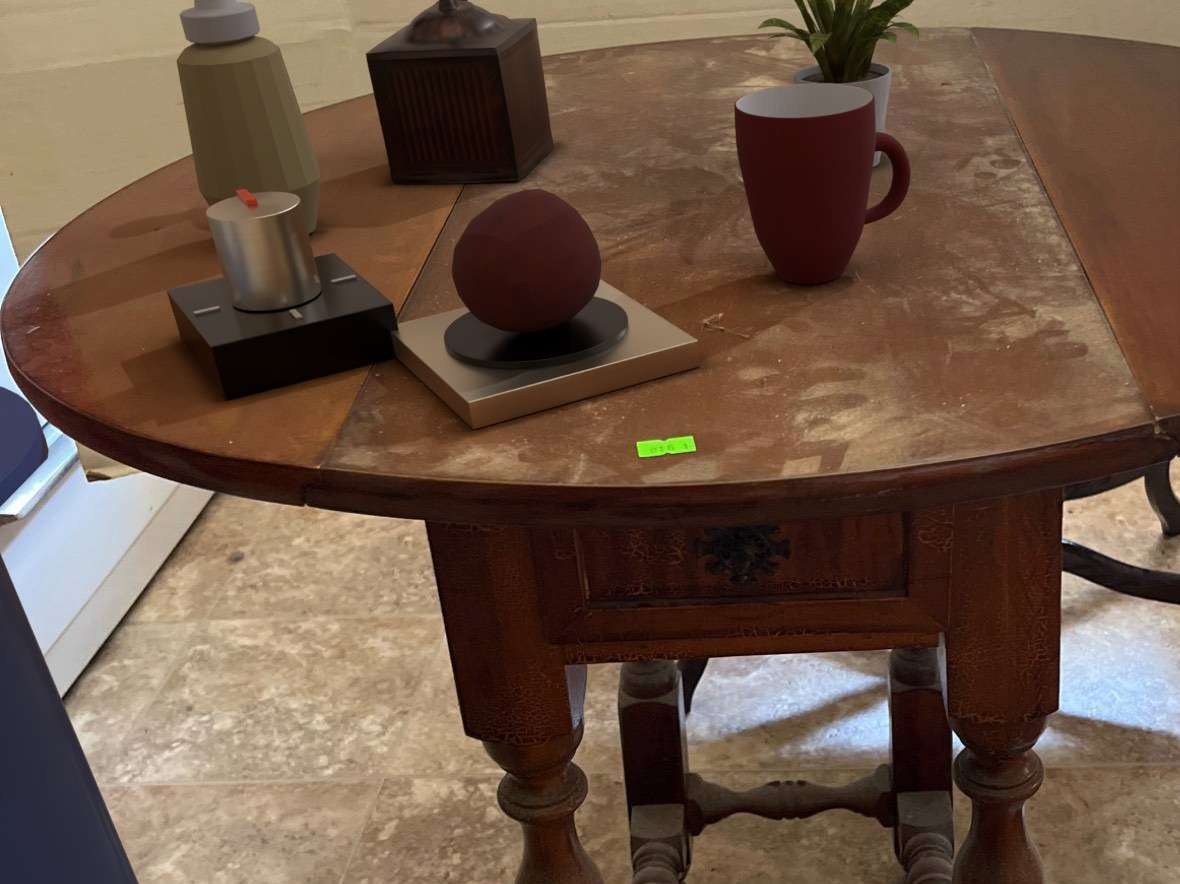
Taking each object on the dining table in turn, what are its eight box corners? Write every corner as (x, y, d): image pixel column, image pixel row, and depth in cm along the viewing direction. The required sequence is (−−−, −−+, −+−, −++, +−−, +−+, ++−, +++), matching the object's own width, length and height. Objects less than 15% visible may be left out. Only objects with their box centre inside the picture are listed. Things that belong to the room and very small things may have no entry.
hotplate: (473, 430, 74) (466, 394, 73) (390, 352, 83) (383, 319, 82) (700, 366, 79) (697, 332, 78) (597, 299, 88) (593, 268, 87)
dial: (332, 297, 82) (309, 200, 79) (243, 318, 80) (216, 220, 77) (307, 273, 86) (284, 180, 82) (221, 293, 84) (194, 198, 81)
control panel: (226, 400, 79) (209, 343, 77) (181, 339, 87) (165, 287, 85) (404, 355, 83) (392, 300, 81) (345, 301, 90) (333, 249, 89)
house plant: (731, 200, 103) (712, -63, 93) (731, 146, 114) (715, -94, 104) (935, 187, 102) (938, -79, 93) (916, 134, 113) (916, -108, 104)
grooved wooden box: (560, 142, 118) (525, -116, 107) (521, 182, 109) (478, -94, 98) (378, 145, 120) (326, -106, 110) (325, 186, 112) (262, -83, 101)
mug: (866, 235, 95) (863, 69, 89) (937, 268, 89) (939, 93, 83) (721, 270, 91) (709, 99, 85) (786, 307, 85) (777, 126, 79)
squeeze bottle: (197, 256, 99) (111, -41, 89) (236, 219, 106) (161, -62, 95) (314, 251, 99) (242, -49, 88) (346, 214, 105) (283, -70, 95)
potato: (432, 342, 79) (405, 210, 75) (536, 291, 84) (516, 166, 80) (535, 366, 75) (514, 228, 71) (637, 311, 81) (622, 180, 77)
